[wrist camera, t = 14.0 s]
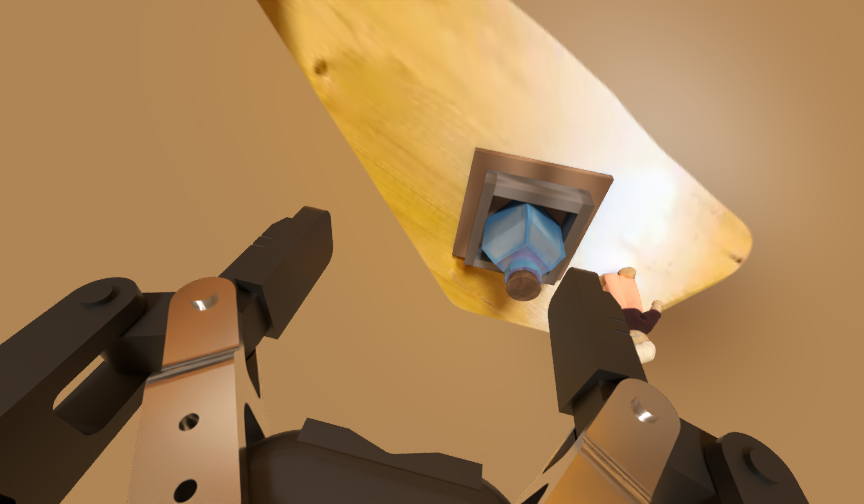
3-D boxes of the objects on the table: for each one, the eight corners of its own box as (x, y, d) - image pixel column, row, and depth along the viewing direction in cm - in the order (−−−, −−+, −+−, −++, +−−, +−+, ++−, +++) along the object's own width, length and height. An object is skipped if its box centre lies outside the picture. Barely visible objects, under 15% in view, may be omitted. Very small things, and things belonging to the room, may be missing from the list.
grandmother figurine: (635, 256, 40) (674, 338, 30) (650, 275, 41) (691, 360, 31) (577, 282, 44) (594, 361, 34) (592, 299, 45) (612, 380, 35)
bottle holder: (453, 250, 45) (447, 270, 42) (475, 147, 36) (471, 162, 32) (559, 275, 44) (562, 298, 41) (611, 175, 35) (622, 194, 31)
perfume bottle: (517, 250, 42) (517, 320, 32) (485, 219, 40) (475, 283, 31) (559, 224, 38) (572, 294, 29) (527, 189, 37) (529, 251, 27)
